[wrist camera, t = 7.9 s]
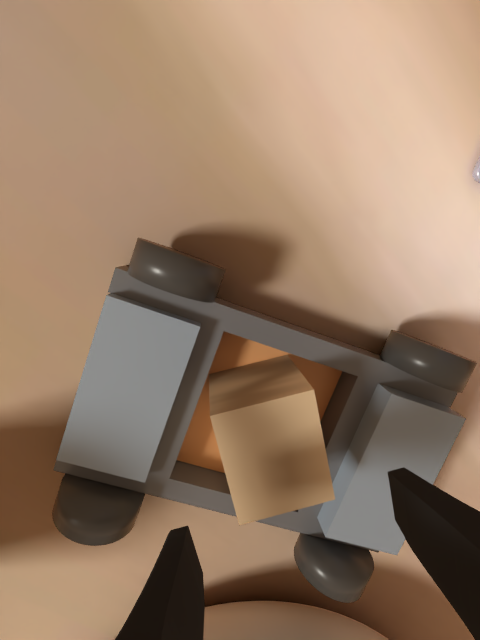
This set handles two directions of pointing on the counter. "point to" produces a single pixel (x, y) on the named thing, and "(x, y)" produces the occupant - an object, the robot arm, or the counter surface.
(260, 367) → the engine block
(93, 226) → the counter surface
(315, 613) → the bowl
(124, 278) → the car chassis
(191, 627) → the robot arm
